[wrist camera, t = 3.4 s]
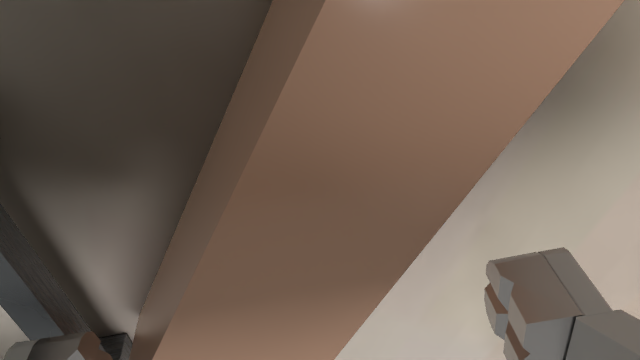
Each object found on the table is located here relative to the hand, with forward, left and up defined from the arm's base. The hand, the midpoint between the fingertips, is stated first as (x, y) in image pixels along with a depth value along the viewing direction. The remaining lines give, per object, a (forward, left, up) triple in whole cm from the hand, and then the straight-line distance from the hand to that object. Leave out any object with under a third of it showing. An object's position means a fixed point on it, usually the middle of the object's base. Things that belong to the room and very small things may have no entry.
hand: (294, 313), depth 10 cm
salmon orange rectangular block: (-1, 0, -5) cm, 5 cm away
